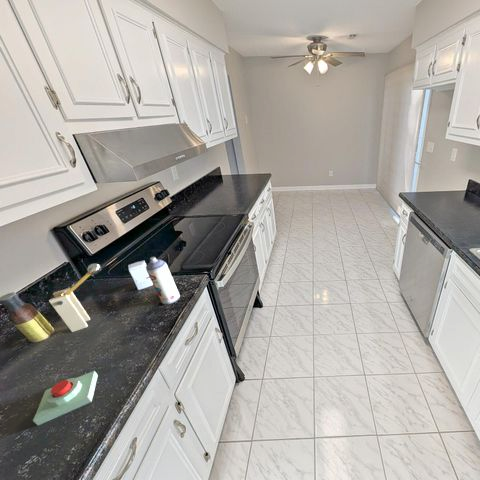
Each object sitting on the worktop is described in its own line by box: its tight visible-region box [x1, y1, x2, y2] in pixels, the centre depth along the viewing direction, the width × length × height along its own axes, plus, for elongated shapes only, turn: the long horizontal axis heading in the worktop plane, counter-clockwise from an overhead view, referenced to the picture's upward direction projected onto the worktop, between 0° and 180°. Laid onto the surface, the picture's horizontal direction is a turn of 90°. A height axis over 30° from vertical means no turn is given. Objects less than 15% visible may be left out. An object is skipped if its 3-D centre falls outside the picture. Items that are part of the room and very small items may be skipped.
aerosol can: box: [146, 256, 181, 306], centre depth 99 cm, size 7×7×20 cm
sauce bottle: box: [0, 292, 55, 344], centre depth 85 cm, size 7×6×20 cm
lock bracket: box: [48, 287, 91, 333], centre depth 89 cm, size 9×8×16 cm
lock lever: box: [58, 263, 102, 297], centre depth 87 cm, size 17×4×4 cm
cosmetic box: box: [128, 260, 154, 291], centre depth 110 cm, size 6×4×12 cm
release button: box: [51, 379, 72, 397], centre depth 67 cm, size 4×4×2 cm
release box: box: [32, 370, 99, 426], centre depth 68 cm, size 11×9×4 cm
